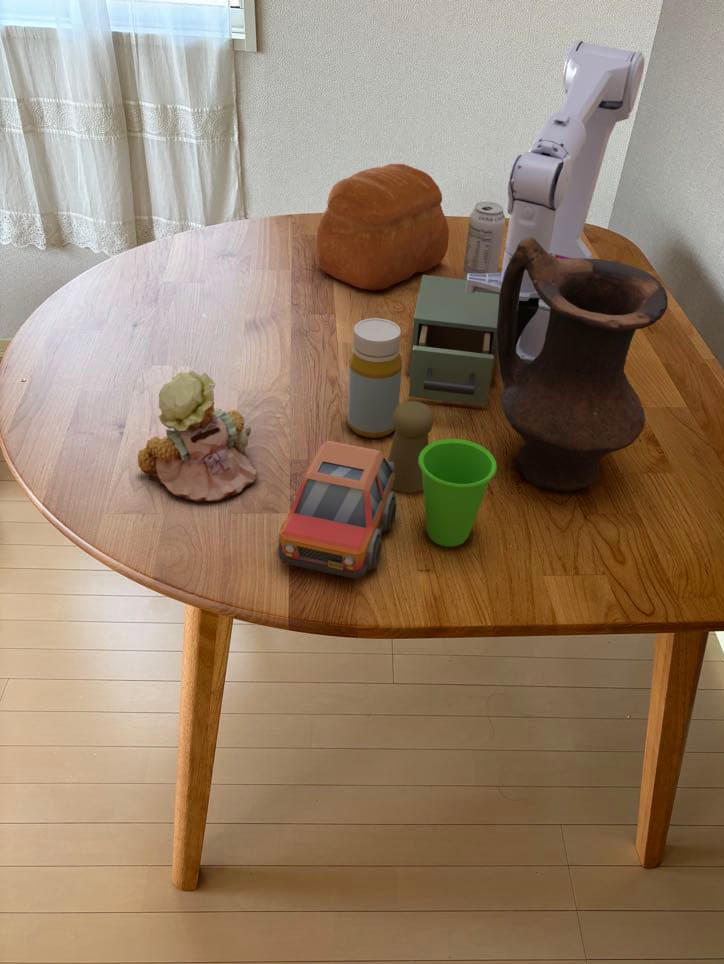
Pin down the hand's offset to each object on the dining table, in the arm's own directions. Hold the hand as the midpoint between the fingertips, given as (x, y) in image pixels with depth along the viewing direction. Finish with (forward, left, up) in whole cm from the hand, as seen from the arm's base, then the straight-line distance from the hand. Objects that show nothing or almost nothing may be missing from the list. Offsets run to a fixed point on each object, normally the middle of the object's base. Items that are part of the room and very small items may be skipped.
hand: (511, 344), depth 127 cm
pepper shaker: (+12, +20, -11) cm, 25 cm away
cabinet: (+8, -13, -10) cm, 18 cm away
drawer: (+8, -3, -9) cm, 13 cm away
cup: (+6, +30, -11) cm, 32 cm away
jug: (-7, +13, -11) cm, 18 cm away
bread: (+23, -42, -11) cm, 49 cm away
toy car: (+19, +33, -11) cm, 39 cm away
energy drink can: (+5, -37, -11) cm, 39 cm away
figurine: (+38, +24, -11) cm, 46 cm away
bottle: (+18, +9, -11) cm, 23 cm away
